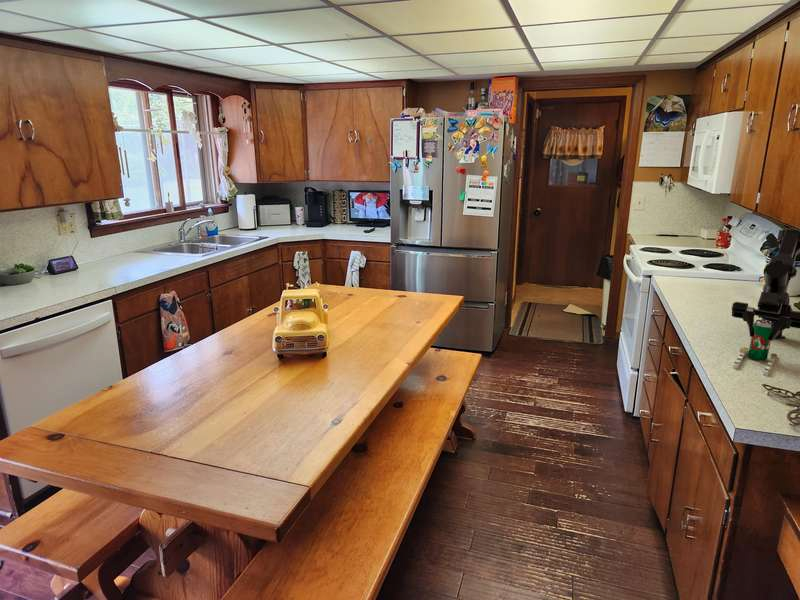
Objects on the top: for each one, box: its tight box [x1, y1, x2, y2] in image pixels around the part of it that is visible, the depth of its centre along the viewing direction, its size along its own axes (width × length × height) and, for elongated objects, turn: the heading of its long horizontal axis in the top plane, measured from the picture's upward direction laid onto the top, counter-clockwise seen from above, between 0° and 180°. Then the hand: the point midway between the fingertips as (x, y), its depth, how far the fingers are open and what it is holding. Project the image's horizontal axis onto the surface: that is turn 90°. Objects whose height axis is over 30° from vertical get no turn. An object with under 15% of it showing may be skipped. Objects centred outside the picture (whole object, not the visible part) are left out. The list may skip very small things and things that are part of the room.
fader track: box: [732, 345, 778, 377], centre depth 160 cm, size 20×8×2 cm, turn 139°
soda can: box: [747, 319, 774, 362], centre depth 162 cm, size 5×5×12 cm
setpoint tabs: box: [739, 347, 778, 361], centre depth 163 cm, size 2×10×1 cm, turn 49°
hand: (760, 338), depth 160 cm, fingers closed on soda can, 5 cm apart
